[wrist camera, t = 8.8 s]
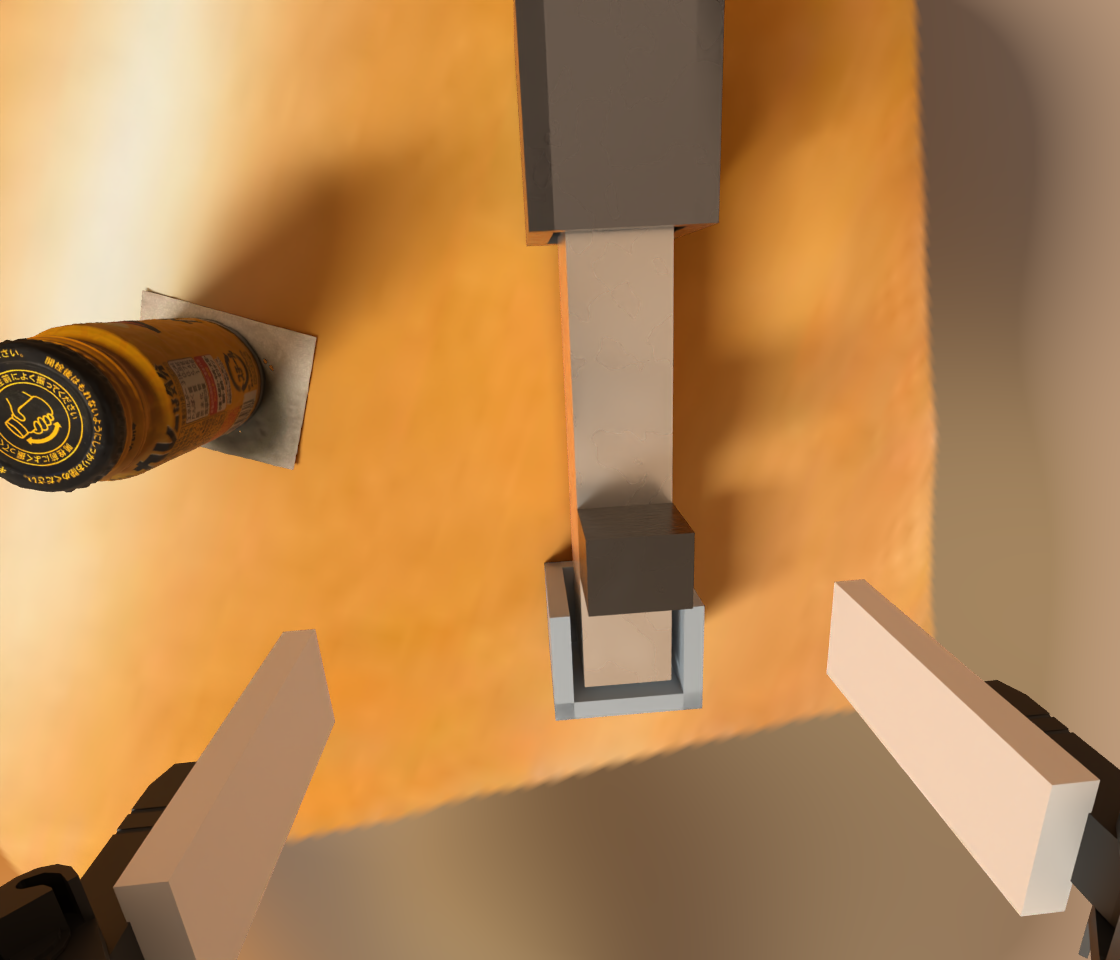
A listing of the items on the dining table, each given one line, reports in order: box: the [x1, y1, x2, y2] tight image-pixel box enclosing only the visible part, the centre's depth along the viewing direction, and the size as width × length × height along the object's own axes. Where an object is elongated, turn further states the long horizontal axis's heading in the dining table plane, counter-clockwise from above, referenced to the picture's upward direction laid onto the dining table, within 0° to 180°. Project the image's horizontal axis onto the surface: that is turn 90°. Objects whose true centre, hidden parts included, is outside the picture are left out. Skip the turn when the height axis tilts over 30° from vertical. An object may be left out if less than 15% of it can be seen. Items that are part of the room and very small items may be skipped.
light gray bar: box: [558, 227, 695, 687], centre depth 29 cm, size 22×4×9 cm, turn 3°
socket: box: [544, 561, 704, 721], centre depth 34 cm, size 6×8×6 cm
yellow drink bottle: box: [0, 291, 316, 492], centre depth 26 cm, size 7×8×12 cm
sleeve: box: [513, 0, 725, 246], centre depth 26 cm, size 9×8×7 cm
